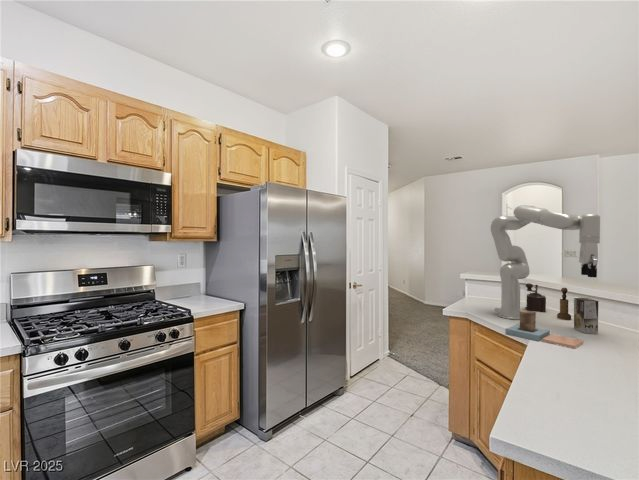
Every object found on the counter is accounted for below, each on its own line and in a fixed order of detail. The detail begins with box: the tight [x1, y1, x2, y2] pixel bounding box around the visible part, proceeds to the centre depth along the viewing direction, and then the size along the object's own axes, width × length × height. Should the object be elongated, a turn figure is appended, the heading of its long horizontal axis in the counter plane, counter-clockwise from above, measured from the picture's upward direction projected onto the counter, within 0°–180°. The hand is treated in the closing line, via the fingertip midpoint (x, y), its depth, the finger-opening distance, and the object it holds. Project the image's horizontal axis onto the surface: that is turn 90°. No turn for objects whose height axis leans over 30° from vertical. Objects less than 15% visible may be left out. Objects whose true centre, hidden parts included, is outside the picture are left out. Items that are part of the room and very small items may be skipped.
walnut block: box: [519, 309, 537, 332], centre depth 155 cm, size 5×5×11 cm
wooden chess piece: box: [556, 287, 572, 321], centre depth 188 cm, size 7×6×18 cm
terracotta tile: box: [541, 333, 584, 349], centre depth 144 cm, size 12×12×1 cm
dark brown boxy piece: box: [524, 282, 547, 313], centre depth 208 cm, size 16×11×18 cm
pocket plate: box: [505, 323, 551, 342], centre depth 155 cm, size 14×14×2 cm
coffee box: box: [573, 297, 600, 335], centre depth 162 cm, size 9×6×16 cm
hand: (588, 276), depth 154 cm, fingers open, 9 cm apart
